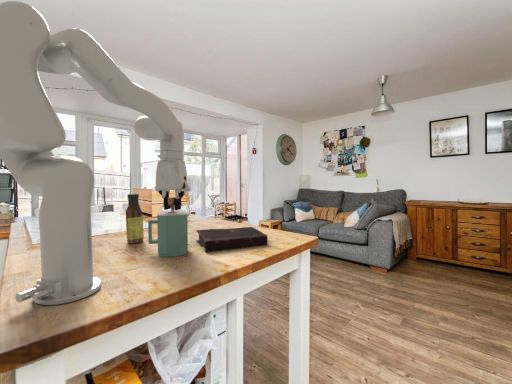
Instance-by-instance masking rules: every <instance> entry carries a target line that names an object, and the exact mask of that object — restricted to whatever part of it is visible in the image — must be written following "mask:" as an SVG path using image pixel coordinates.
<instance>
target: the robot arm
mask: <svg viewBox="0 0 512 384" xmlns="http://www.w3.org/2000/svg"><path fill="white" fill-rule="evenodd" d="M39 72H41V73H48V74H55V75H62V76H63V75H66V76H67V75H72V74H76V73H77V74H78V75H79V76H80V77H81V78H82V79H83V80H84V81H85V82H87V83H88V85H89V86H90V87H92V89H93V90H95V91H96V93H98V94H99V95H100V96H101V97H102V98H103V99H104V100H105V101H106V102H108V103H110V104H113V105H116V106H120V107H124V108H127V109H131V110H134V111H135V112H136V111H137V112H139V113H140V114H142V116H140V117H138V118H137V119H136V120H135V122H134V123H133V129H134V132H135V134H136V135H137V136H138V137H139V138H141V139H143V140H145V141H159V153H158V154H157V157H158V159H160V160H158V161H157V164H156V171H155V188H154V191H156V192H157V193H159V195H161V198H162V199H163V211H168V210H171V205H167V198H168V197H170V193H171V192H170V191H173V190H174V194H175V195H174V197H176V199H174V211H176V210H181V209H182V199H183V198H184V196H185V195H186V194H187V193H189V192H190V191H191V188H190V186H189V184H188V174H187V173H188V171H187V165H186V162H185V160H184V145H183V143H184V142H183V141H184V139H183V137H184V136H183V132H184V131H183V129H184V128H183V124H182V122H180V121H178V119H177V117H176V115H175V114H174V112H173V111H172V110H171V109H170V108H169V106H168V105H167V104H166V103H165V102H164V101H163V100H162V99H161V98H160V97H159V96H157V95H156V94H154V93H153V92H151V91H149V90H148V89H146V88H144V87H143V86H141V85H139V84H138V83H135V82H134V81H132V80H131V79H130V78H129V77H128V76H127V75H126V74H125V73H124V71H123V70H122V69H121V68H120V66H118V65H117V63H116V62H115V61H114V60H113V58H112V57H110V55H109V54H108V53H107V52H106V51H105V50H104V49H103V48H102V47H101V45H100V44H99V43H98V42H97V41H96V39H95V38H94V37H93V36H92V35H90V33H88V32H87V31H85V30H84V29H81V28H76V27H75V28H73V27H71V28H66V29H64V30H61V31H58V32H56V33H53V34H51V33H50V29H49V25H48V23H47V21H46V19H45V18H44V16H43V15H42V14H41V13H40V11H38V10H37V9H36V8H34V6H32V5H30V4H28V3H25V2H22V1H19V0H18V1H17V0H10V1H9V0H8V1H4V2H1V3H0V159H1V161H2V163H4V166H6V168H7V170H8V171H9V173H10V174H11V176H12V177H13V179H14V180H15V182H16V183H17V184H18V185H19V186H20V188H22V190H24V191H25V192H27V193H29V194H31V195H33V196H37V197H42V198H41V202H40V206H39V213H38V229H39V245H40V247H39V248H40V270H41V278H39V279H36V281H35V282H36V283H35V285H33V286H32V287H31V288H29V289H25V290H23V291H20V292H17V293H16V294H15V296H14V298H15V301H16V302H17V303H18V304H19V303H22V302H24V301H27V300H30V299H31V298H32V299H33V302H34V303H35V304H37V305H43V306H55V305H62V304H68V303H72V302H76V301H79V300H81V299H84V298H86V297H89V296H91V295H93V294H94V293H96V292H97V291H98V290H99V289H101V287H102V281H101V279H100V278H98V277H96V276H94V258H93V256H94V255H93V233H92V231H93V230H92V199H93V193H94V187H95V175H94V172H93V169H92V168H91V167H90V165H89V164H88V163H87V162H86V161H84V160H82V159H80V158H78V157H74V156H68V155H59V156H58V155H54V153H53V151H56V150H58V149H59V148H61V147H62V146H63V145H64V144H65V142H66V140H67V139H66V137H67V136H66V135H67V134H66V131H65V130H66V129H65V127H64V126H63V124H62V121H61V119H60V118H59V116H58V114H57V112H56V111H55V108H54V106H53V104H52V103H51V100H50V98H49V97H48V94H47V93H46V91H45V89H44V87H43V83H42V82H41V79H40V75H39ZM143 115H144V116H143Z"/></svg>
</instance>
